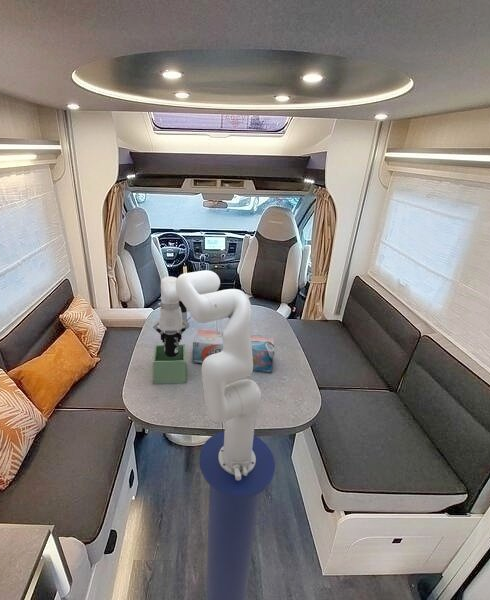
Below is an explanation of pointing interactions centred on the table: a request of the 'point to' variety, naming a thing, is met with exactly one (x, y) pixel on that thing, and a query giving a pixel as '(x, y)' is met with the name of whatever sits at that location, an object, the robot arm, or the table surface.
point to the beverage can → (171, 343)
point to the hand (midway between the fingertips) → (171, 340)
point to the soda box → (213, 343)
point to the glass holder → (183, 312)
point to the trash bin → (169, 366)
